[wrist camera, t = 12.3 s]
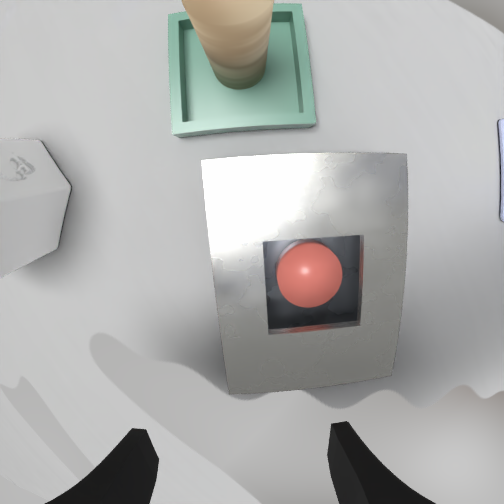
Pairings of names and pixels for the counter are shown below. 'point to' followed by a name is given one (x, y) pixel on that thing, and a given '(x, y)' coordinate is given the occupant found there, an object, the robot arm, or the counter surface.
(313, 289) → the button
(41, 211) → the jar
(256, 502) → the counter surface
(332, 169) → the metal stand with hole
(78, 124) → the counter surface
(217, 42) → the dowel
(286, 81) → the tray
